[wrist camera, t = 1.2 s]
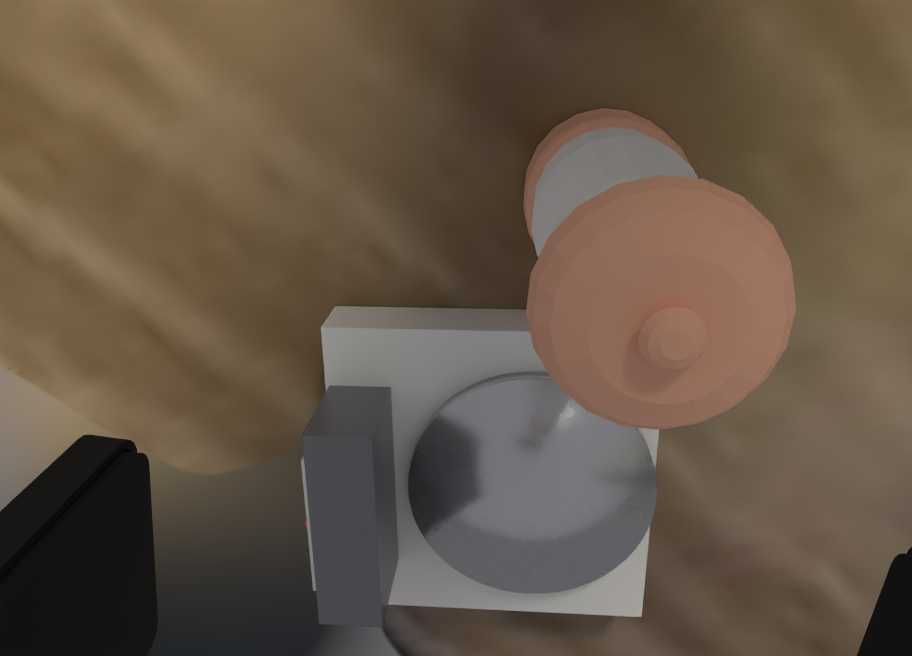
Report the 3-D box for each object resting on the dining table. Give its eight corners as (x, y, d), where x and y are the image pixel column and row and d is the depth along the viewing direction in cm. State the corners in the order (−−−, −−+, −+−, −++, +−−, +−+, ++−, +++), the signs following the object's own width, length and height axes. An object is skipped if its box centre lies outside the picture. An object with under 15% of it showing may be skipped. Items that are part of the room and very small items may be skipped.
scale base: (657, 311, 38) (689, 381, 31) (634, 579, 44) (656, 692, 36) (330, 306, 39) (285, 370, 32) (349, 566, 45) (314, 672, 38)
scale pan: (664, 374, 36) (668, 383, 35) (644, 586, 40) (647, 599, 39) (406, 368, 37) (403, 377, 36) (414, 575, 41) (411, 588, 40)
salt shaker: (655, 82, 34) (795, 142, 17) (702, 232, 37) (868, 429, 19) (501, 144, 36) (476, 260, 18) (554, 285, 38) (580, 512, 20)
